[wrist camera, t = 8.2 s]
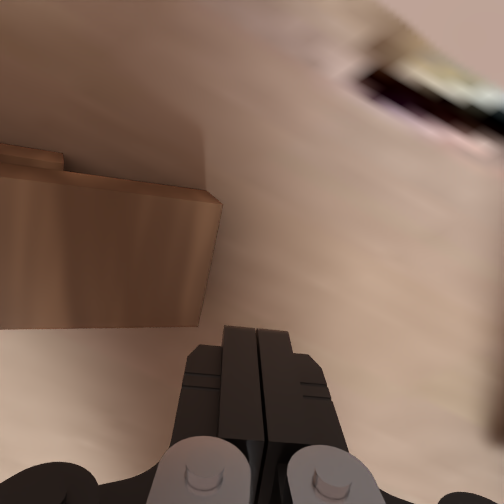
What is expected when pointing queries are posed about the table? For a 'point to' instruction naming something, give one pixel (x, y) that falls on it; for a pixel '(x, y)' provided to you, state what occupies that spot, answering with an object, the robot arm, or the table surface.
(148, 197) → the domino
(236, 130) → the table surface
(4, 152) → the domino
